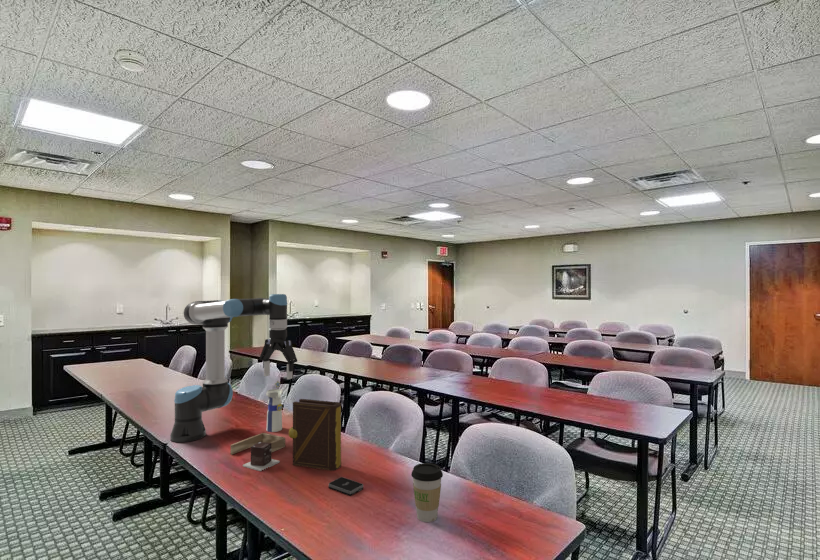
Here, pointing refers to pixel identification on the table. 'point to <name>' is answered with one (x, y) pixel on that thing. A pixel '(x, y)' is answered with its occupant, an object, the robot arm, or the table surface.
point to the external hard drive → (346, 486)
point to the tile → (261, 466)
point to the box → (260, 454)
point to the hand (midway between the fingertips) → (278, 377)
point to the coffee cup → (427, 490)
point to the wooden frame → (275, 441)
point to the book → (316, 434)
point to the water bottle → (274, 409)
